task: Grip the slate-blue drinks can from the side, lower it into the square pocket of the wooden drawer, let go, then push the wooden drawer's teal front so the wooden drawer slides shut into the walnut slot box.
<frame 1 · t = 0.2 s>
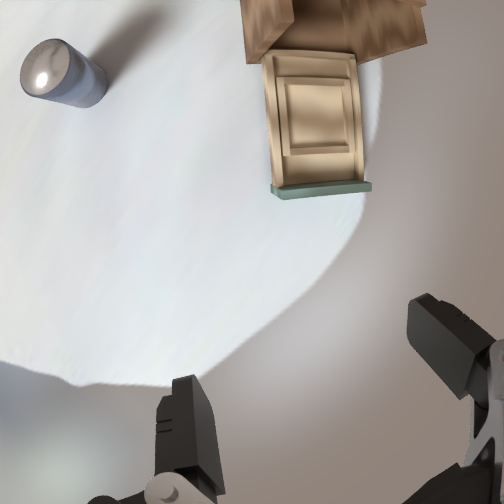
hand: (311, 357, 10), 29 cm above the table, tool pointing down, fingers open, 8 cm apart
walnut box: (295, 9, 30), on the table
can: (87, 86, 29), on the table
wooden drawer: (317, 120, 33), point 3 cm above the table, slide at 14.0 cm
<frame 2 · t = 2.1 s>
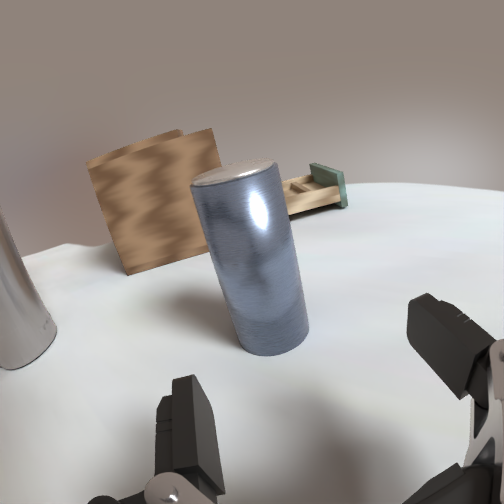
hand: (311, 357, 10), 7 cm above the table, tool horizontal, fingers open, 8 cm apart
walnut box: (184, 240, 46), on the table
can: (273, 331, 23), on the table
wooden drawer: (279, 195, 46), point 3 cm above the table, slide at 14.0 cm
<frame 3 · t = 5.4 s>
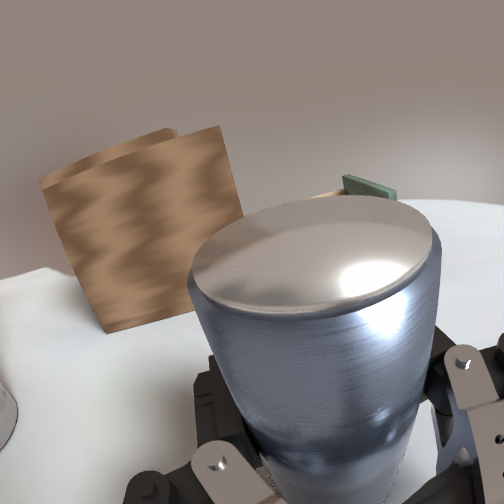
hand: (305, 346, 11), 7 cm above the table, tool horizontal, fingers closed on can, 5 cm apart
walnut box: (181, 280, 35), on the table
can: (338, 476, 11), on the table, touching gripper
wooden drawer: (308, 218, 35), point 3 cm above the table, slide at 14.0 cm
when the fingers open (11 cm above the table, at t = 12.7 s): can drops 1 cm, resting on wooden drawer.
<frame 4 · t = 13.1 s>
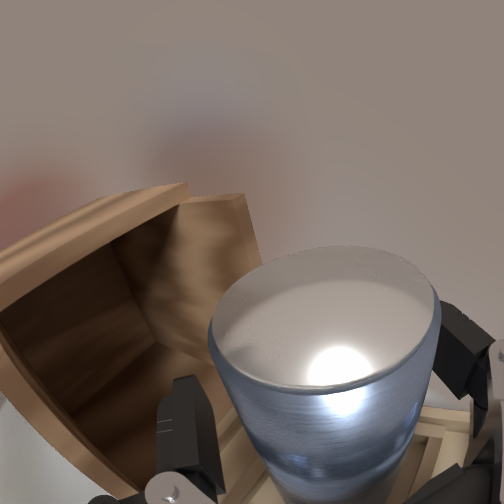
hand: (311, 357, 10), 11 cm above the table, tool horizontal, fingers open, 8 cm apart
walnut box: (162, 415, 22), on the table
can: (338, 488, 12), point 2 cm above the table, touching wooden drawer
wooden drawer: (348, 486, 11), point 3 cm above the table, slide at 14.0 cm, touching can
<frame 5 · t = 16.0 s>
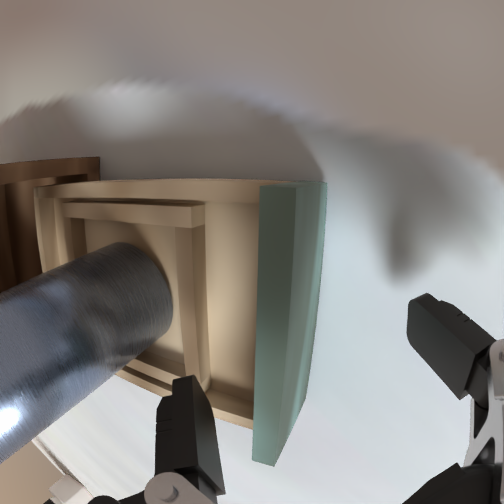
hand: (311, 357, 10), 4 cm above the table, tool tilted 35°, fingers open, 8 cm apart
walnut box: (48, 249, 22), on the table
medicine bottle: (83, 488, 45), on the table
can: (131, 292, 15), point 3 cm above the table, touching wooden drawer
wooden drawer: (134, 294, 15), point 3 cm above the table, slide at 11.9 cm, touching can
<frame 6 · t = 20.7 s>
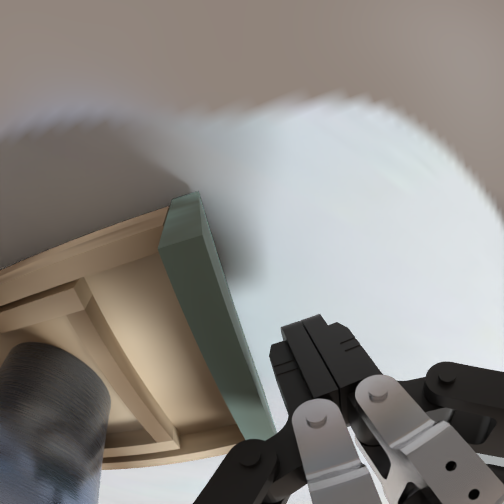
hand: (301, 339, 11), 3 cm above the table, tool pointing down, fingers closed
can: (55, 388, 11), point 2 cm above the table, touching wooden drawer
wooden drawer: (59, 393, 10), point 3 cm above the table, slide at 10.4 cm, touching can, gripper
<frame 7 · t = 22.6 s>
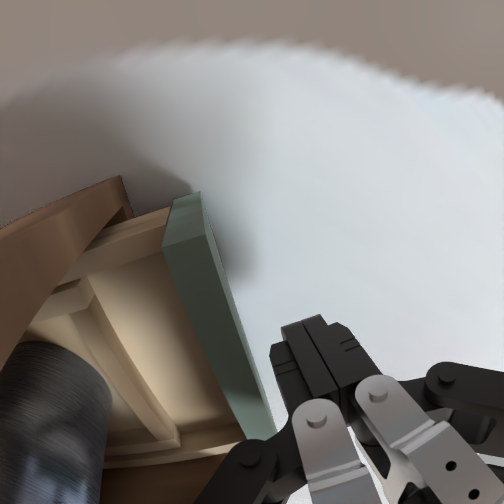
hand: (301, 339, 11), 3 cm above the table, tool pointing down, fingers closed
walnut box: (44, 359, 13), on the table
can: (57, 387, 11), point 2 cm above the table, touching wooden drawer
wooden drawer: (61, 392, 10), point 3 cm above the table, slide at 0.7 cm, touching can, gripper
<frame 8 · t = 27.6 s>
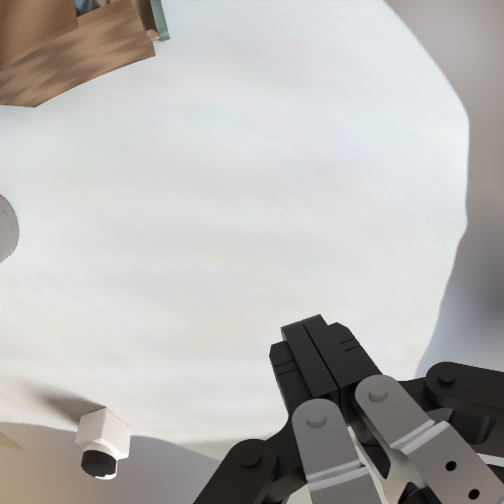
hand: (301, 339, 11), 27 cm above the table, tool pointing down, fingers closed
walnut box: (81, 31, 25), on the table
medicine bottle: (106, 421, 46), on the table
can: (83, 23, 23), point 2 cm above the table, touching wooden drawer
wooden drawer: (85, 19, 22), point 3 cm above the table, slide at 0.0 cm, touching can
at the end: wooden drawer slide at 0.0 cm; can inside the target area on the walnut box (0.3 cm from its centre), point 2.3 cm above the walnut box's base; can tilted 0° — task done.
